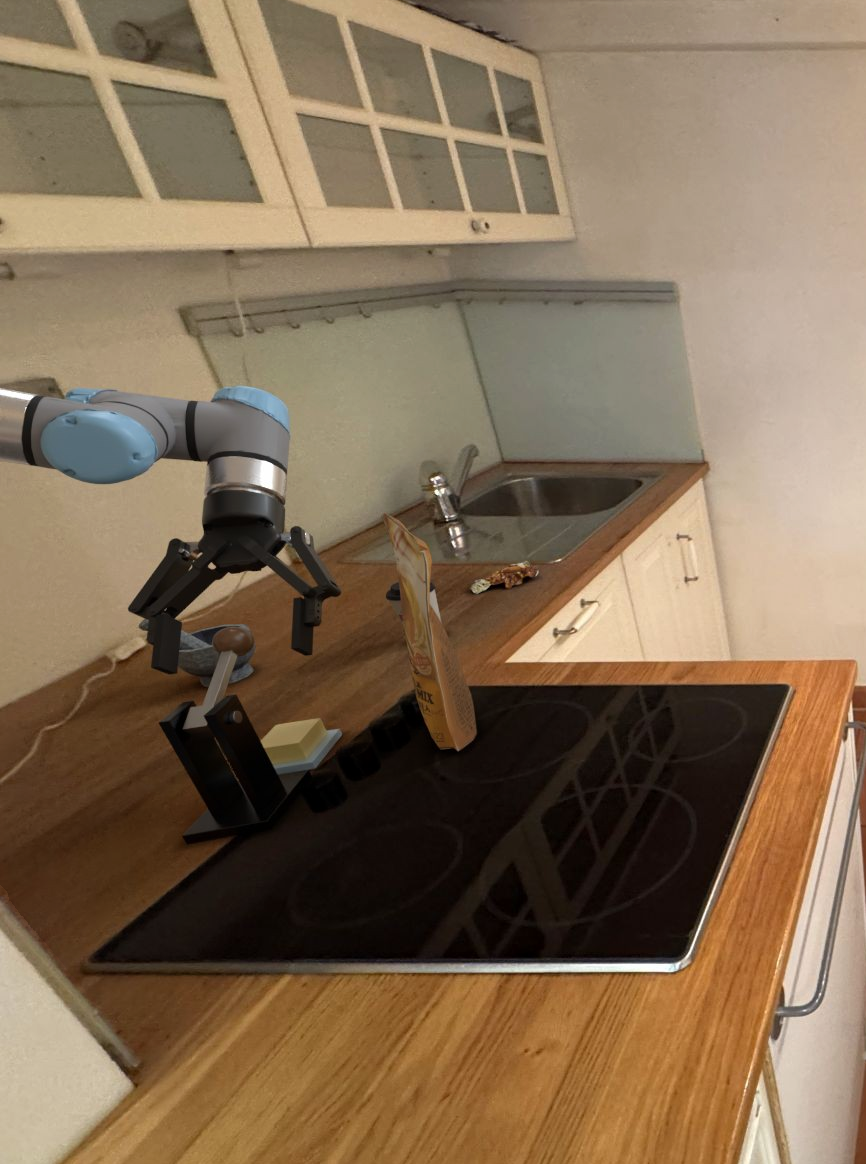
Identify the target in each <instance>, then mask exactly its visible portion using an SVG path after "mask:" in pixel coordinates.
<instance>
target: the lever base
mask: <svg viewBox="0 0 866 1164" xmlns="http://www.w3.org/2000/svg"><path fill="white" fill-rule="evenodd" d="M242 704H243V703H241V700H240V699H239V697H238V694H229V695H224V697H223V699H222V700H221V701H220V702H219V703H217V704H216V705H215V706H214V707H213V708H212V709H211V710H209V711H208V712H207V713H206V714H205V715H204V718H205V720H206V722H207V723H208V725H209V727H210V729H211V731H212V733H213V734H214V736H215V737H213V738H207V739H200V740H197V739H196V738H194V737H193V736H192V735H190V734H189V733H187V732H186V731H184V730H183V727H184V724H185V721H186V718H187V716H188V713H189V710H190V708H191V707H196V706H197V704H196V702H195V700H187V701H183V702H181V703H180V704H179V705H178V706H176V707H175V708H174V709H173V710H172V711H170V712H169V713H168V714H166V715H165V716H164V717H163V718H162V719H161V720H159V721H158V725H159V727H160V728H161V730H162V732H163V734H164V735H165V737H166V738H167V740H168V742H169V744H170V746H171V748H172V749H173V751H174V752H175V753H174V754H175V755H176V756H177V758H178V760H179V762H180V763H181V764H182V767H183V768H184V770H185V772H186V774H187V775H188V777H189V778H190V780H191V782H192V784H193V786H194V787H195V789H196V790H197V792H198V794H199V796H200V798H201V799H202V801H203V803H204V805H205V806H206V809H205V810H204V812H202V814H201V815H200V816H199V817H197V819H196V820H195V821H194V822H193V823H192V824H191V825H190V826H189V827H188V829H187V830H186V831H185V832H184V833H183V834H182V835H181V837H182V839H183V840H184V842H185V844H186V845H189V844H195V843H200V842H201V843H202V842H207V841H211V840H212V841H213V840H218V839H223V838H228V837H229V838H230V837H235V836H239V835H245V834H251V833H256V832H262V831H267V830H272V829H273V828H274V827H275V825H276V824H277V823H278V822H279V820H280V819H281V818H282V816H283V815H284V814H286V811H288V809H289V808H290V807H291V805H292V804H293V803H294V801H295V800H296V799H297V798H298V797H299V795H300V794H301V792H302V791H303V790H304V789H305V788H306V786H307V785H308V784H309V783H310V781H311V780H312V779H313V775H312V774H311V770H310V769H309V770H303V771H297V772H291V773H285V774H279V775H278V774H277V772H276V770H275V768H274V766H273V764H272V763H271V761H270V759H269V757H268V755H267V753H266V751H265V749H264V747H263V745H262V743H261V739H260V737H259V736H258V733H257V731H256V729H255V728H254V726H253V724H252V721H251V720H250V718H249V716H248V714H247V712H246V710H245V709H244V706H243V705H242Z"/></svg>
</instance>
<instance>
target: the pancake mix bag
mask: <svg viewBox="0 0 866 1164" xmlns="http://www.w3.org/2000/svg"><path fill="white" fill-rule="evenodd" d="M380 518H381V520H382V522H383V523H384V526H385V528H386V530H387V533H388V536H389V539H390V542H391V545H392V550H393V553H394V557H395V562H396V573H397V582H399V587H400V595H401V608H402V617H403V624H404V627H403V629H404V636H405V642H406V650H407V656H408V662H409V668H410V673H411V679H412V682H413V688H414V693H415V697H416V700H417V703H418V706H419V710H420V713H421V715H422V717H423V721H424V723H425V725H426V727H427V729H428V732H429V734H430V737H431V739H432V740H433V741H434V743H435V744H436V745H437V747H438V748H439V750H441V751H443V750H449V749H454V750H455V751H457V752H459V751H461V750H463V749H464V748H465V747H466V746H468V745H469V744H470V743H472V741H474V740H475V738H476V736H477V735H478V731H477V721H476V715H475V707H474V706H475V705H474V701H473V695H472V693H471V690H470V687H469V685H468V682H467V680H466V677H465V674H464V671H463V668H462V666H461V663H460V660H459V658H458V655H457V653H456V651H455V649H454V647H453V645H452V643H451V639H450V638H449V636H448V633H447V631H446V629H445V627H444V625H443V622H442V620H441V621H440V620H439V618H438V616H437V614H436V613H435V611H434V610H433V608H432V606H431V605H430V582H431V577H432V576H431V575H432V565H433V560H432V556H431V552H430V548H429V547H428V544H427V542H425V541H423V540H422V539H420V538H418V536H415V535H414V534H412V532H410V531H409V530H408V529H407V528H406V526H405V525H404V524H403V523H402V522H401V521H400V520H399V519H398V518H396V517H394V516H391V515H389V514H387V513H386V512H384V513H383V514H382V515H381V516H380Z"/></svg>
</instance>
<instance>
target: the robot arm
mask: <svg viewBox="0 0 866 1164" xmlns="http://www.w3.org/2000/svg"><path fill="white" fill-rule="evenodd" d="M64 397H65V398H58V397H53V396H52V397H51V396H44V395H40V394H36V393H31V392H25V391H20V390H14V389H10V388H9V389H8V388H3V387H0V462H4V463H9V464H12V463H13V464H17V465H24V466H31V467H32V466H33V467H38V468H44V469H51V470H57V471H58V472H60V473H62V474H64V475H65V476H67V477H70V478H71V479H74V480H76V481H80V482H83V483H87V484H92V485H93V484H94V485H113V484H119V483H122V482H125V481H130V480H133V479H134V478H137V477H139V476H141V475H143V474H145V473H146V472H148V471H149V470H150V469H151V468H152V467H153V465H154V464H155V463H156V462H158V461H160V460H162V459H165V460H176V461H192V462H199V463H203V462H206V471H205V481H204V490H203V494H204V498H203V503H202V504H203V505H202V512H201V513H202V514H201V525H202V530H203V535H202V536H201V538H200V539H199V541H184V540H182V539H180V538H177V537H175V538H172V539H170V540H169V542H168V545H167V549H166V553H165V556H164V557H163V558H162V560H161V561H160V562H159V564H158V565H157V567H156V568H155V570H154V571H153V572H152V573H151V575H150V576H149V578H148V579H147V581H146V582H145V583H144V584H143V586H142V587H141V588H140V590H139V591H138V593H137V594H136V596H134V599H132V601H131V602H130V604H129V605H128V607H127V610H128V612H129V613H131V614H133V615H135V616H138V617H139V618H140V617H141V618H142V619H147V620H149V622H148V631H146V641H147V643H148V645H149V644H150V645H152V654H151V655H152V656H151V662H150V663H151V664H150V669H153V670H155V671H159V672H160V673H164V674H167V675H177V674H178V669H179V667H178V660H179V650H180V639H181V630H183V629H182V628H183V621H181V620H178V619H176V618H177V617H178V616H179V615H180V614H182V613H183V612H184V611H185V610H186V609H187V608H188V607H190V605H191V604H192V603H193V602H194V601H195V600H196V599H198V597H200V596H201V595H202V594H203V593H204V592H205V591H206V590H207V589H208V588H209V587H210V586H211V585H212V584H213V583H214V582H216V581H219V580H222V579H223V578H224V577H225V576H227V574H230V575H236V574H241V573H245V572H253V573H254V572H255V573H256V572H262V569H265V568H266V567H268V568H269V569H271V571H273V572H274V573H275V574H276V575H278V576H279V577H280V578H281V579H282V580H283V581H285V582H286V583H287V584H288V585H290V587H292V588H293V589H294V590H295V591H297V592H298V594H299V595H301V596H303V597H301V596H299V597H293V602H292V622H291V643H290V649H291V650H293V651H295V652H297V653H299V654H301V655H303V656H305V657H307V656H313V652H314V651H313V649H314V648H313V647H314V628H315V627H316V628H317V627H320V626H321V624H322V618H323V616H322V614H323V603H324V602H325V600H327V599H329V598H338V597H339V596H341V594H342V589H341V588H340V586H339V585H338V583H337V581H336V580H335V579H334V576H333V575H332V574H331V572H330V571H329V569H328V568H327V566H326V565H325V563H324V562H323V561H322V559H321V558H320V555H319V554H318V553H317V551H316V549H315V543H314V537H313V535H311V534H310V533H309V532H307V531H306V529H303V528H302V527H301V526H300V525H295V526H292V527H290V529H289V531H285V527H286V526H285V525H286V507H285V505H286V499H287V484H288V466H289V465H288V464H289V454H290V442H291V431H290V411H289V409H288V406H287V405H286V404H285V403H284V401H283V400H281V399H280V398H279V397H277V396H276V395H274V394H272V393H270V392H268V391H266V390H263V389H260V388H257V387H253V386H247V385H236V386H234V387H231V386H226V387H222V388H220V389H218V390H217V391H215V392H214V394H213V397H212V398H211V399H210V401H205V400H189V399H187V400H186V399H182V398H181V399H180V398H172V397H166V396H165V397H164V396H157V395H151V394H150V395H149V394H142V393H136V392H135V393H134V392H127V391H119V390H117V389H115V388H113V389H112V388H105V389H100V388H99V389H98V388H87V387H75V388H74V387H73V388H72V389H70V390H68V391H67V392H66V393H65V396H64ZM286 545H288V546H290V547H291V548H292V549H294V551H295V553H296V554H297V556H298V557H299V558H300V561H301V562H302V563H303V565H304V566H305V568H306V569H307V571H308V572H309V574H310V576H311V577H312V579H313V581H314V582H315V583H316V586H312V585H311V584H310V583H309V582H308V581H306V580H305V579H304V578H303V577H301V576H300V575H299V574H298V573H296V571H294V570H293V569H292V568H290V566H289V565H288V564H286V563H285V562H284V561H283V560H281V559H280V558H279V557H278V556H277V555H279V553H280V552H281V551H282V550H284V548H285V547H286ZM210 564H212V565H213V566H214V568H210V567H209V566H210Z"/></svg>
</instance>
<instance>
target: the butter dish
mask: <svg viewBox="0 0 866 1164" xmlns="http://www.w3.org/2000/svg"><path fill="white" fill-rule="evenodd" d="M342 736H343V732H342V731H341V728H335V729H328V730H327V729H326V727H325V725H324V723H323V721H322V719H321V717H317V718H311V719H305V720H304V719H303V720H297V721H292V722H291V721H290V722H285V723H284V722H283V723H278V724H275V725H274V726H273V727H272V728H271V729H270V730H269V731H268V732H267V734H266V735H264V736H263V738H262V739H260V741H261V743H262V745H263V747H264V749H265V751H266V753H267V755H268V757H269V759H270V761H271V763H272V764H273V766H274V768H275V770H276V772H277V774H278V775H279V774H285V773H291V772H297V771H303V770H309V771H310V770H315V769H316V768H317V767H318V766H319V765H320V764H321V762H322V761H323V760H324V758H325V757H326V756H327V755H328V753H329V752H330V751H331V749H333V747H334V746H335V745H336V744H337V742H339V740H340V738H341V737H342Z"/></svg>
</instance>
